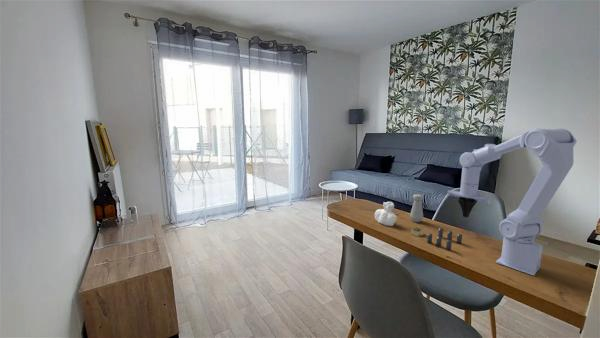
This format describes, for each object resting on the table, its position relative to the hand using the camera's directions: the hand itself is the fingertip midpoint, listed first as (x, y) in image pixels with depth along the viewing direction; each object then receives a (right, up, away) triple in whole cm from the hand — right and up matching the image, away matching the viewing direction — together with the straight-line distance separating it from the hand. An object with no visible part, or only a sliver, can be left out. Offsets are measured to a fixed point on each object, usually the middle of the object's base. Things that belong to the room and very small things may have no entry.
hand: (465, 216), depth 99 cm
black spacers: (-10, -10, -2) cm, 14 cm away
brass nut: (-16, -9, +7) cm, 20 cm away
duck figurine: (-25, -7, +19) cm, 32 cm away
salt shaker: (-10, -6, +21) cm, 24 cm away
